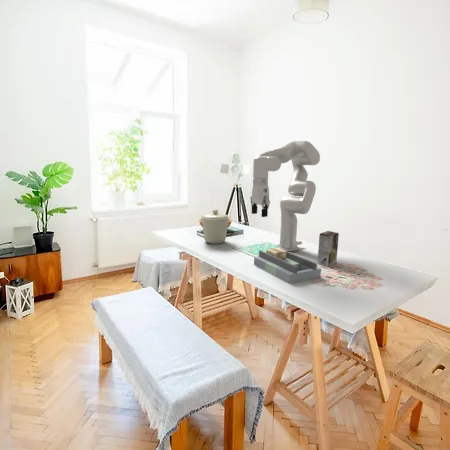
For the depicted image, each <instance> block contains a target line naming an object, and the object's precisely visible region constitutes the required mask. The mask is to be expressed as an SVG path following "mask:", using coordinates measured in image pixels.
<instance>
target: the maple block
mask: <svg viewBox="0 0 450 450" xmlns="http://www.w3.org/2000/svg"><path fill="white" fill-rule="evenodd" d="M265 250H266V251H265V252H266V253H268V254H270V255H272V256H275V257H277V258H279V259H281V260H284V259H286V251H284V250H282V249H279V248H277V247H275V248H268V249H265Z"/></svg>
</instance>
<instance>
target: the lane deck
mask: <svg viewBox="0 0 450 450" xmlns="http://www.w3.org/2000/svg"><path fill="white" fill-rule="evenodd" d="M279 249H280V248H279ZM282 250H283V249H282ZM284 251H285V250H284ZM253 265H254V266H256V267H258V268H259V269H262V270H263V271H264V272H267V273H268V274H271V275H272V276H274V277H277V278H278V279H280V280H282V281H284V282H286V283H288V284H293V283H294V284H295V283H298V282H303V281H308V280H312V279H318V278H321V276H322V275H321V273H322V268H320V267H318V263H317V262H315V261H313V260H310V259H307V258H304V257H303V256H300V255H297V254H295V253H292V252H291V251H286V259H284V260H281V259H279V258H277V257H275V256H272V255H270V254H268V253H266V251H263V250H259V251H258V256H254V257H253Z"/></svg>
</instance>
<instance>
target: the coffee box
mask: <svg viewBox="0 0 450 450" xmlns="http://www.w3.org/2000/svg"><path fill="white" fill-rule="evenodd" d="M318 238H319V240H318V252H317V262H316V263H317V265H318V264H319V265H322V266H326V267H330V266H332V265H335V264H336V263H337V259H338V248H339V232H334V231H330V230H327V231H324V232H321V233H319V237H318Z"/></svg>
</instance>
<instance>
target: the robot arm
mask: <svg viewBox="0 0 450 450" xmlns="http://www.w3.org/2000/svg"><path fill="white" fill-rule="evenodd" d="M320 160H321V155H320V152H319V151H318V149H317V148H316V147H315V146H314V144H312V143H311V142H309V141H307V140H302V141H301V140H300V141H298V140H297V141H296V140H295V141H290V142H288V143H287V144H285V145H283V146H282V147H279V148H274V149H273V150H269V151H265V152H262V153H261V154H259V155H257V156H255V157H254V158H253V168H252V169H253V170H252V190H251V196H250V197H249V198H250V203H251V204H250V205H251V214H252V215H255V214H258V205H259V206H261V218H267V217H268V213H269V212H268V210H269V207H270V203H271V200H270V188H269V172H277V171H280V168H281V167H282V164H286V163H288V162H290V161H291V165H292V168H293V173H292V177H291V179H290V183H289V184H288V189H287V192H288V194H289V195H285V196H283V197H282V198H281V199H280V202H279V207H280V232H279V233H280V234H279V244H278V245H276V248H280V249H283V250H285V251H288V252H295V251H298V250H299V246H298V245H300V246H301V245H303V242H302V241H301V240H299V241H298V240H297V235H298V233H297V232H298V231H297V230H298V218H297V215H296V214H298V215H306V214H308V213H309V211H310V209H311V206H312V204H313V201H314V198H315V195H316V190H317V189H316V188H317V187H316V184H315V182H314V181H312V180H307V179H308V176H309V175H308V171H307V169H306V168H305V166H316V165H318V164H319V163H320Z"/></svg>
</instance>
